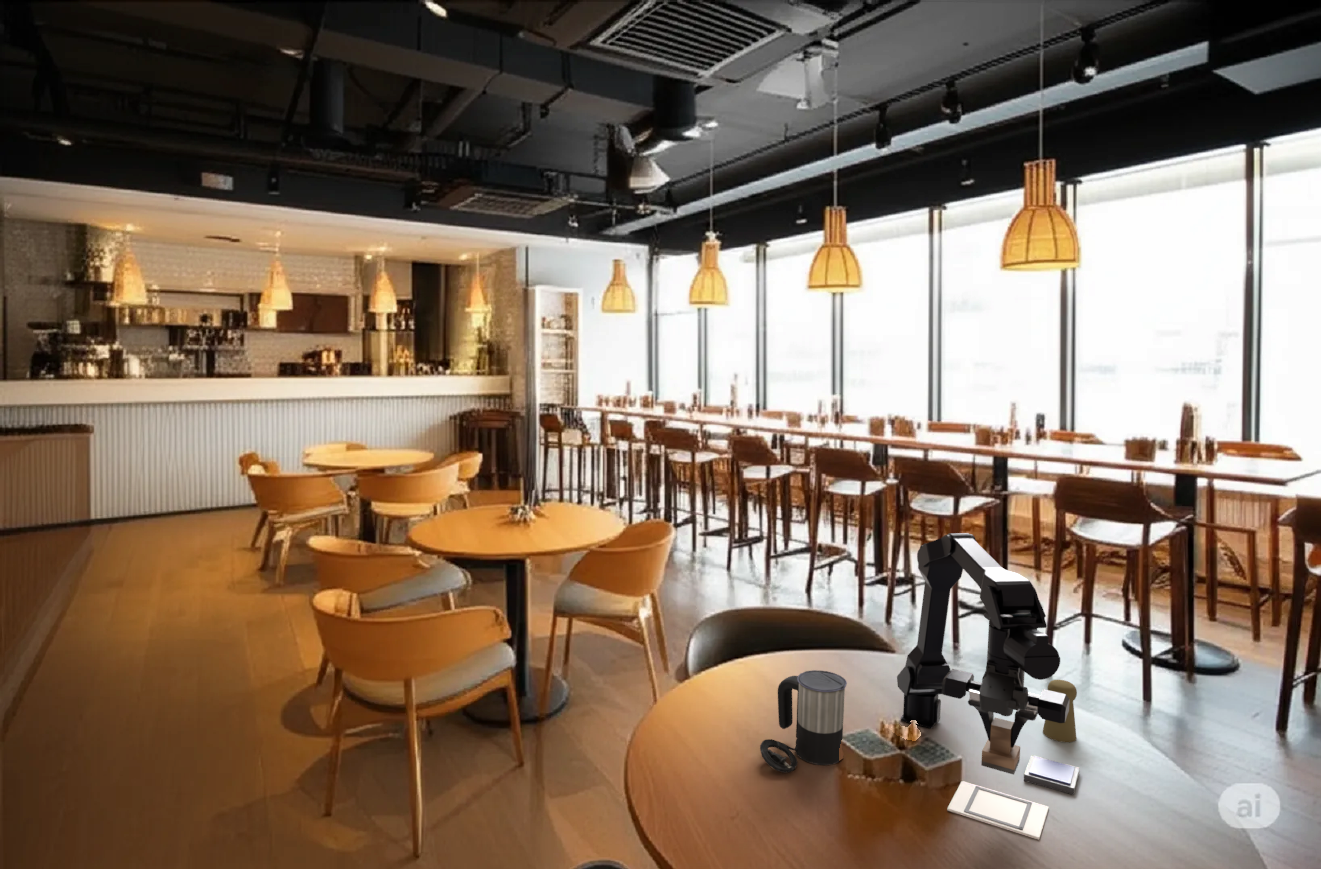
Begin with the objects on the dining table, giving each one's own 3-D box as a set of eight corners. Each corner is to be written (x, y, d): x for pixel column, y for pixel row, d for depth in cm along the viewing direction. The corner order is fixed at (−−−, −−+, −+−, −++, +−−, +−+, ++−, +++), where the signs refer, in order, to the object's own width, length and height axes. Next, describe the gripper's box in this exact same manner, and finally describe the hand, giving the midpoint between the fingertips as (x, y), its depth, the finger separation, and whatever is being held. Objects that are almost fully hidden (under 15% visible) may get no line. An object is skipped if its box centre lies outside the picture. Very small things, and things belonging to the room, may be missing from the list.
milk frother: (849, 747, 151) (851, 674, 149) (830, 789, 137) (832, 709, 135) (778, 732, 157) (779, 661, 155) (753, 770, 143) (754, 693, 141)
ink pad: (1023, 780, 139) (1024, 772, 139) (1031, 760, 146) (1031, 753, 146) (1073, 794, 135) (1074, 786, 135) (1079, 773, 142) (1079, 766, 141)
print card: (947, 810, 130) (947, 807, 130) (961, 782, 139) (961, 779, 139) (1039, 839, 123) (1039, 836, 123) (1048, 808, 131) (1048, 805, 131)
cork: (1080, 743, 152) (1084, 690, 151) (1047, 740, 153) (1050, 687, 152) (1070, 728, 158) (1074, 677, 157) (1039, 726, 159) (1041, 674, 158)
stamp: (981, 765, 129) (983, 725, 128) (987, 752, 133) (989, 713, 132) (1013, 774, 126) (1016, 733, 125) (1019, 760, 130) (1021, 721, 130)
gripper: (934, 656, 126) (931, 747, 128) (1063, 684, 116) (1057, 783, 118) (952, 635, 135) (948, 720, 137) (1072, 659, 125) (1066, 751, 127)
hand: (1001, 743), depth 129 cm, fingers closed on stamp, 3 cm apart
